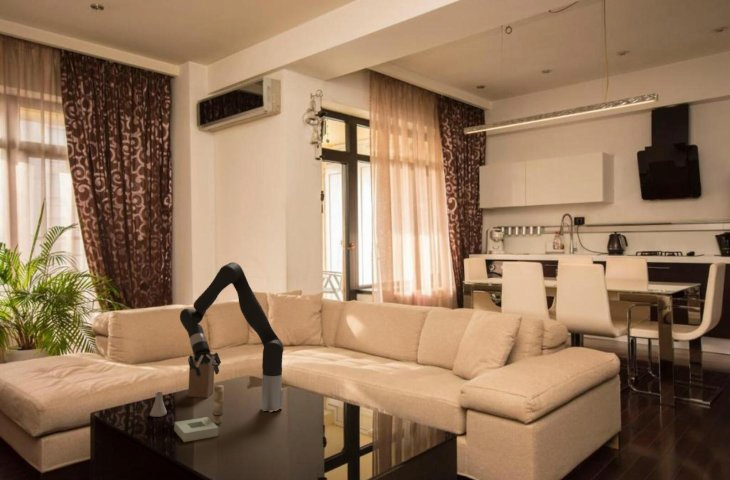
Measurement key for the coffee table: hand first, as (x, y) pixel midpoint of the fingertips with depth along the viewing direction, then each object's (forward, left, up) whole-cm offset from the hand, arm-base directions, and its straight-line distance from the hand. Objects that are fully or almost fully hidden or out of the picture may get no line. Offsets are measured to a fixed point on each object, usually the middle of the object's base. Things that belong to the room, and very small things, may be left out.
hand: (208, 374), depth 249 cm
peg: (-1, +11, -18) cm, 22 cm away
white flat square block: (+11, +19, -18) cm, 29 cm away
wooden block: (-7, -30, -19) cm, 36 cm away
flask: (+19, -10, -19) cm, 28 cm away
